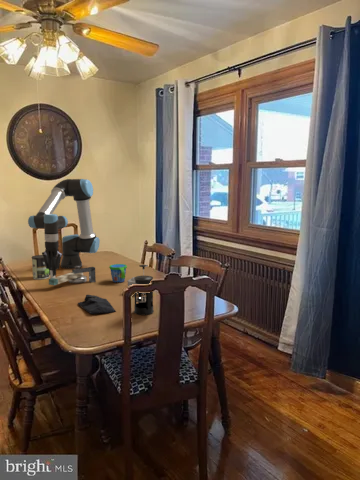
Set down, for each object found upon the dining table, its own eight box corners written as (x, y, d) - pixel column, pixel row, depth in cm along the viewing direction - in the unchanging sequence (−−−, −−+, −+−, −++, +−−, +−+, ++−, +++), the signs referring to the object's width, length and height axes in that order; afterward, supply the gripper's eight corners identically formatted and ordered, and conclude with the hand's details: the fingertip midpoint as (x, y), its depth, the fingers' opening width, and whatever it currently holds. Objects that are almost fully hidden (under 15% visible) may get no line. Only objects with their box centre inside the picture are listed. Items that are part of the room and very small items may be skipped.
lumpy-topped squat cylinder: (152, 294, 209) (152, 278, 207) (129, 295, 205) (129, 280, 204) (148, 289, 219) (148, 274, 217) (126, 290, 215) (126, 275, 214)
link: (77, 275, 238) (76, 265, 237) (84, 276, 236) (84, 266, 235) (47, 284, 216) (47, 273, 215) (55, 285, 213) (55, 274, 212)
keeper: (74, 285, 225) (74, 270, 224) (72, 284, 228) (72, 269, 226) (95, 281, 233) (95, 267, 232) (93, 280, 236) (93, 266, 234)
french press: (130, 310, 182) (129, 263, 178) (148, 307, 186) (147, 261, 183) (140, 317, 172) (139, 268, 168) (158, 314, 176) (158, 266, 173)
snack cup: (106, 279, 239) (106, 263, 238) (122, 277, 244) (122, 262, 242) (113, 285, 225) (113, 268, 224) (130, 283, 230) (130, 267, 228)
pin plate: (79, 277, 242) (79, 274, 242) (90, 280, 235) (90, 277, 235) (64, 281, 234) (64, 277, 233) (75, 284, 227) (75, 280, 227)
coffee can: (52, 276, 247) (51, 255, 244) (44, 280, 237) (43, 258, 234) (38, 275, 249) (37, 254, 246) (29, 279, 239) (28, 257, 236)
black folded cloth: (85, 317, 172) (85, 308, 172) (76, 304, 192) (76, 295, 191) (118, 313, 179) (117, 303, 178) (106, 300, 199) (106, 291, 198)
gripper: (37, 241, 215) (39, 281, 218) (56, 242, 210) (57, 283, 214) (46, 239, 221) (48, 278, 225) (65, 240, 217) (66, 280, 221)
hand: (52, 280), depth 219 cm, fingers closed
